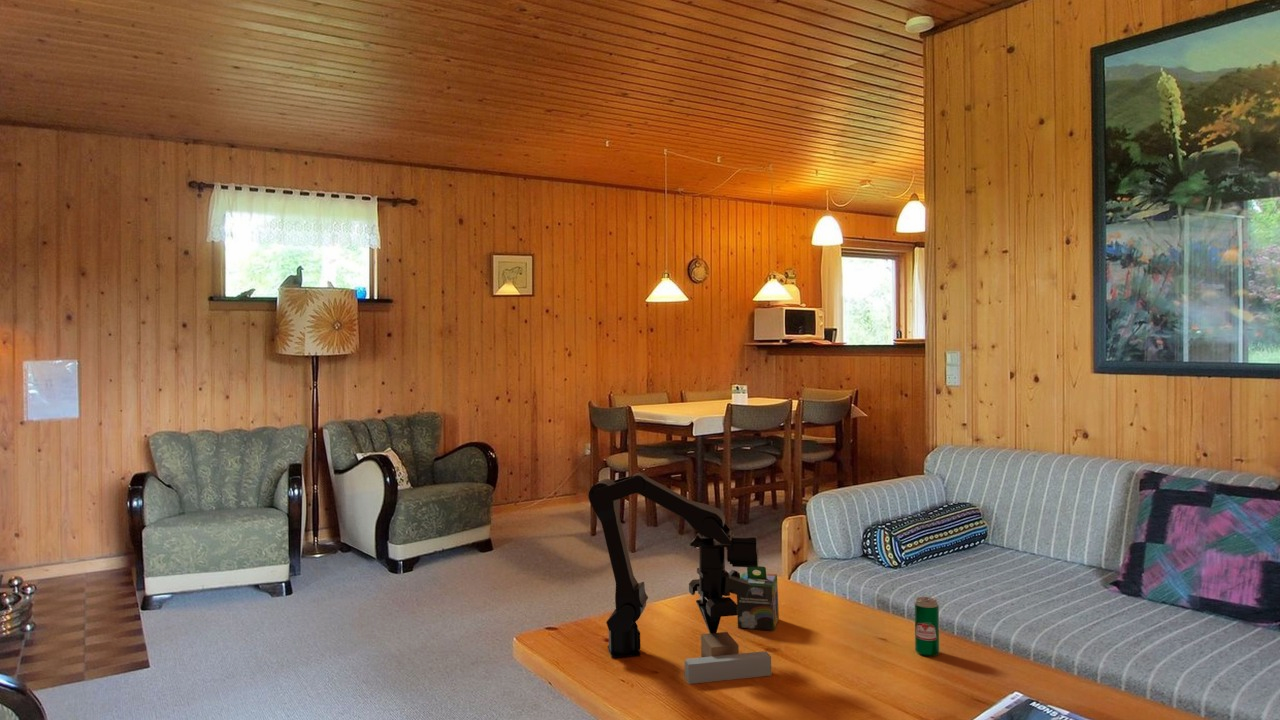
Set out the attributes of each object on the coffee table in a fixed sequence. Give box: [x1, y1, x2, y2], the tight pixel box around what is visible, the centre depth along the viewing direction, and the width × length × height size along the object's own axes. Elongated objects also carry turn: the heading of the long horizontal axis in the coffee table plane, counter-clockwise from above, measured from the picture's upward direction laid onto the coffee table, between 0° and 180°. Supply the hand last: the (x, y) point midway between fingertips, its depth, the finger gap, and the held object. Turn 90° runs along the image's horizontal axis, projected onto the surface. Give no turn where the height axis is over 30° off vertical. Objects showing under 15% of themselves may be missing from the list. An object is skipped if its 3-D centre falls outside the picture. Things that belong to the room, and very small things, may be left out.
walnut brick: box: [700, 631, 740, 658], centre depth 169 cm, size 6×8×6 cm
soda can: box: [914, 596, 940, 657], centre depth 174 cm, size 5×5×12 cm
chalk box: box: [736, 565, 780, 632], centre depth 195 cm, size 9×9×15 cm
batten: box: [684, 650, 772, 685], centre depth 164 cm, size 18×3×4 cm, turn 101°
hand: (713, 635), depth 174 cm, fingers closed
